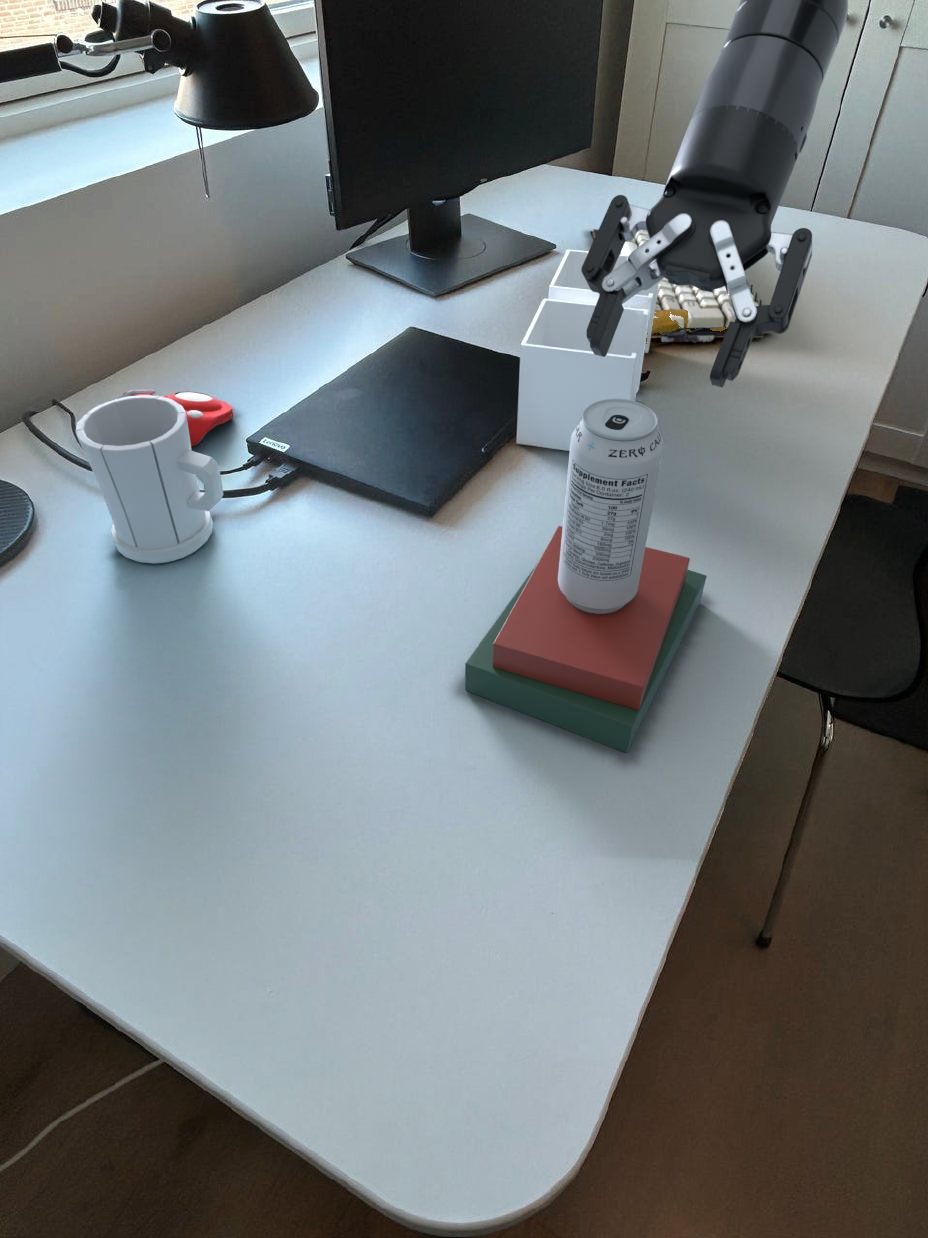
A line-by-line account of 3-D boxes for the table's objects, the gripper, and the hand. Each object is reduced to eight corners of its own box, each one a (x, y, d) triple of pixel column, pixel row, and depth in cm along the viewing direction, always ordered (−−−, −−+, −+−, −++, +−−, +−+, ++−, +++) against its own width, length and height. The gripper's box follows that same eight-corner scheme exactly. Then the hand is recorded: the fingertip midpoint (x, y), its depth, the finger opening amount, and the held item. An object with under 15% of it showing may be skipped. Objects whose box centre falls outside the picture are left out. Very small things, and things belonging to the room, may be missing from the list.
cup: (225, 496, 85) (199, 383, 77) (239, 552, 79) (212, 436, 71) (112, 517, 83) (73, 403, 75) (118, 577, 77) (76, 460, 68)
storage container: (560, 338, 110) (567, 249, 102) (649, 348, 107) (662, 258, 100) (516, 443, 92) (520, 344, 84) (621, 458, 90) (635, 358, 82)
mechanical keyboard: (589, 232, 135) (591, 209, 133) (712, 232, 136) (716, 209, 133) (624, 346, 108) (627, 320, 106) (777, 346, 108) (784, 319, 106)
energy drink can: (648, 581, 68) (680, 408, 57) (618, 629, 64) (647, 452, 53) (576, 557, 70) (595, 385, 59) (543, 602, 66) (557, 426, 56)
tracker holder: (231, 387, 98) (236, 411, 90) (229, 426, 100) (235, 453, 92) (114, 377, 94) (109, 401, 86) (115, 418, 96) (110, 445, 88)
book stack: (558, 557, 78) (562, 506, 75) (700, 602, 74) (712, 551, 70) (465, 690, 67) (464, 639, 63) (626, 753, 62) (637, 702, 59)
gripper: (634, 87, 58) (545, 321, 58) (856, 115, 52) (755, 372, 53) (652, 154, 65) (573, 362, 65) (851, 185, 59) (762, 412, 60)
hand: (655, 366), depth 59 cm, fingers open, 8 cm apart
